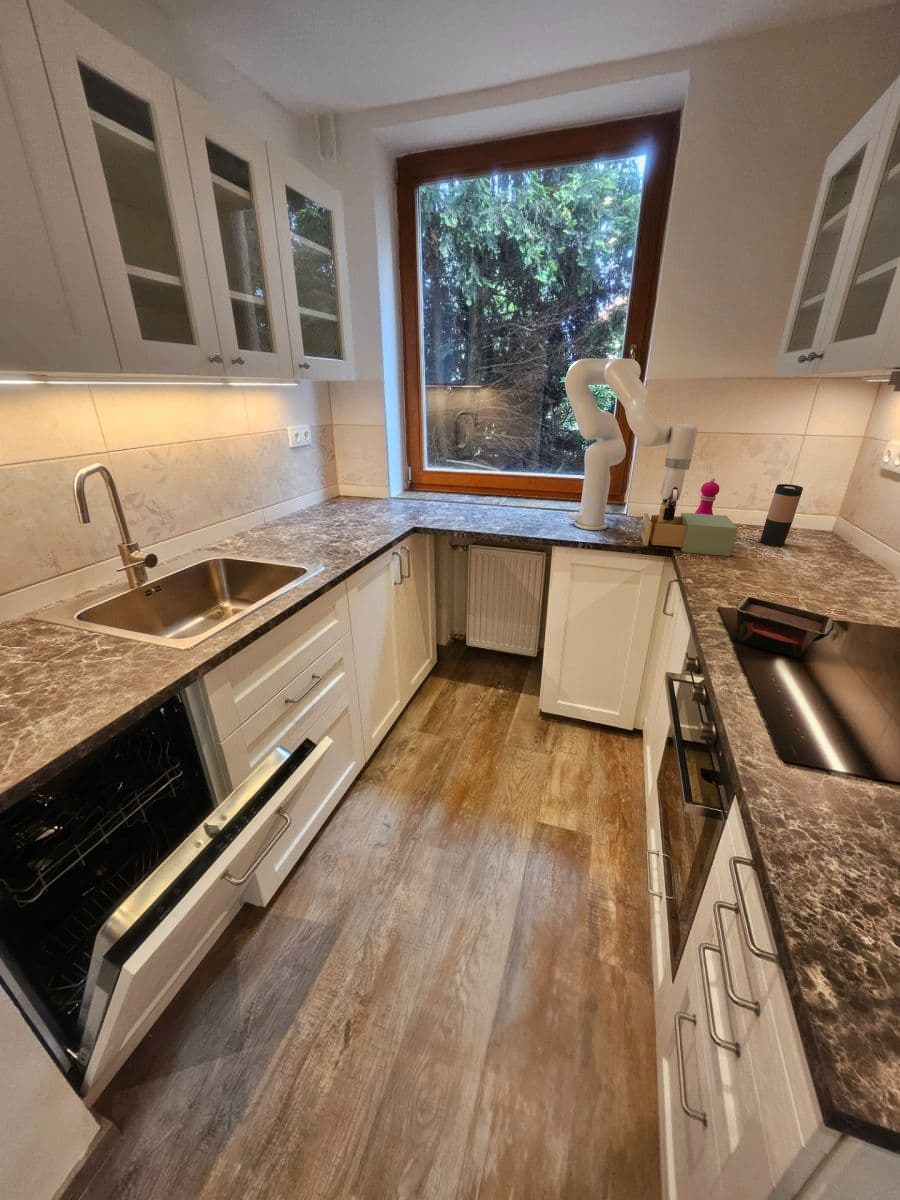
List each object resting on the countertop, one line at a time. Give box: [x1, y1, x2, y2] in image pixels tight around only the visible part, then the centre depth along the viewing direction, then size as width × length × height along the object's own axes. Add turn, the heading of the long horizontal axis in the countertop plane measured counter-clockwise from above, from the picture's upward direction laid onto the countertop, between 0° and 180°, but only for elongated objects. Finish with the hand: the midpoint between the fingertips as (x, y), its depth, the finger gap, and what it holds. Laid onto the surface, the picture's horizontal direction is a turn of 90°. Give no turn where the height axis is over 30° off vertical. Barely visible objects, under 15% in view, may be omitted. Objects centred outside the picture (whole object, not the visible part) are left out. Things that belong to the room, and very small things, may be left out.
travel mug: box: [760, 483, 804, 547], centre depth 162 cm, size 8×8×20 cm
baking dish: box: [736, 596, 835, 659], centre depth 104 cm, size 14×18×10 cm
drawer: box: [630, 512, 688, 548], centre depth 164 cm, size 18×13×8 cm
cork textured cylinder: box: [657, 502, 673, 525], centre depth 162 cm, size 5×5×12 cm
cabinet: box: [679, 512, 738, 557], centre depth 160 cm, size 15×15×10 cm
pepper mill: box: [693, 477, 721, 515], centre depth 174 cm, size 7×7×20 cm
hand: (666, 516), depth 161 cm, fingers open, 7 cm apart
